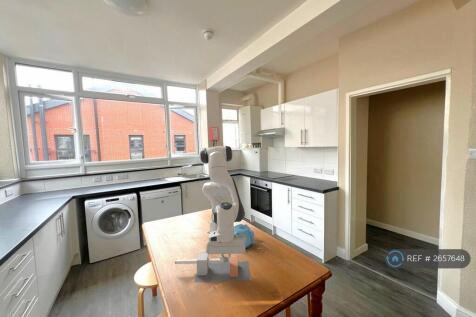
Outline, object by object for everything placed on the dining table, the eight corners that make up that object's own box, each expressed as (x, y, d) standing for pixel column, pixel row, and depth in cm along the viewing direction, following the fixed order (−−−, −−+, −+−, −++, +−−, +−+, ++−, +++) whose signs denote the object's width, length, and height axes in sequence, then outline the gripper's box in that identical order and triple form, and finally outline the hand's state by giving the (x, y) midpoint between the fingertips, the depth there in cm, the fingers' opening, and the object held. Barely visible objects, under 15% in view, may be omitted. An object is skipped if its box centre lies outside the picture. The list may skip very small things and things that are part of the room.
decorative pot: (230, 252, 119) (230, 230, 118) (227, 240, 135) (227, 221, 134) (256, 249, 122) (256, 228, 121) (250, 238, 137) (250, 219, 137)
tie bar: (176, 261, 100) (176, 255, 99) (222, 260, 100) (222, 255, 100) (174, 265, 97) (174, 259, 96) (222, 264, 97) (222, 258, 97)
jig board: (199, 263, 107) (199, 248, 106) (248, 262, 107) (248, 247, 107) (194, 284, 91) (193, 266, 90) (250, 282, 91) (250, 264, 91)
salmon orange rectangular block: (230, 264, 104) (230, 257, 104) (237, 264, 104) (237, 257, 104) (229, 277, 94) (229, 269, 94) (237, 276, 94) (237, 268, 94)
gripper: (245, 231, 102) (245, 257, 102) (207, 232, 101) (207, 258, 102) (246, 237, 95) (246, 264, 96) (205, 238, 95) (205, 265, 95)
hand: (226, 261), depth 99 cm, fingers closed
